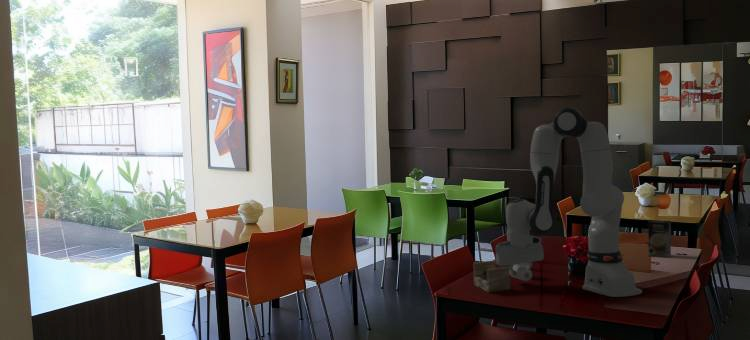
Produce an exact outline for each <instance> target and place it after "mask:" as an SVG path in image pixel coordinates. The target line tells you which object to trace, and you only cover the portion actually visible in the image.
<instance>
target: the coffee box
mask: <svg viewBox="0 0 750 340" xmlns="http://www.w3.org/2000/svg"><path fill="white" fill-rule="evenodd" d="M671 225H672V221H670V220H655V219H650V220H649V221H648V228H647V229H648V230H647V231H648V233H647V235H648V239H647V240H648V243H647V244H648V245H647V248H648V250H647V251H648V253H647V254H648V255H647V256H648V257H656V258H670V257H671V255H672V253H671V250H672V249H671V247H672V246H671V242H672V241H671V239H672V237H671V236H672V235H671V234H672V233H671V230H672V226H671Z"/></svg>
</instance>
